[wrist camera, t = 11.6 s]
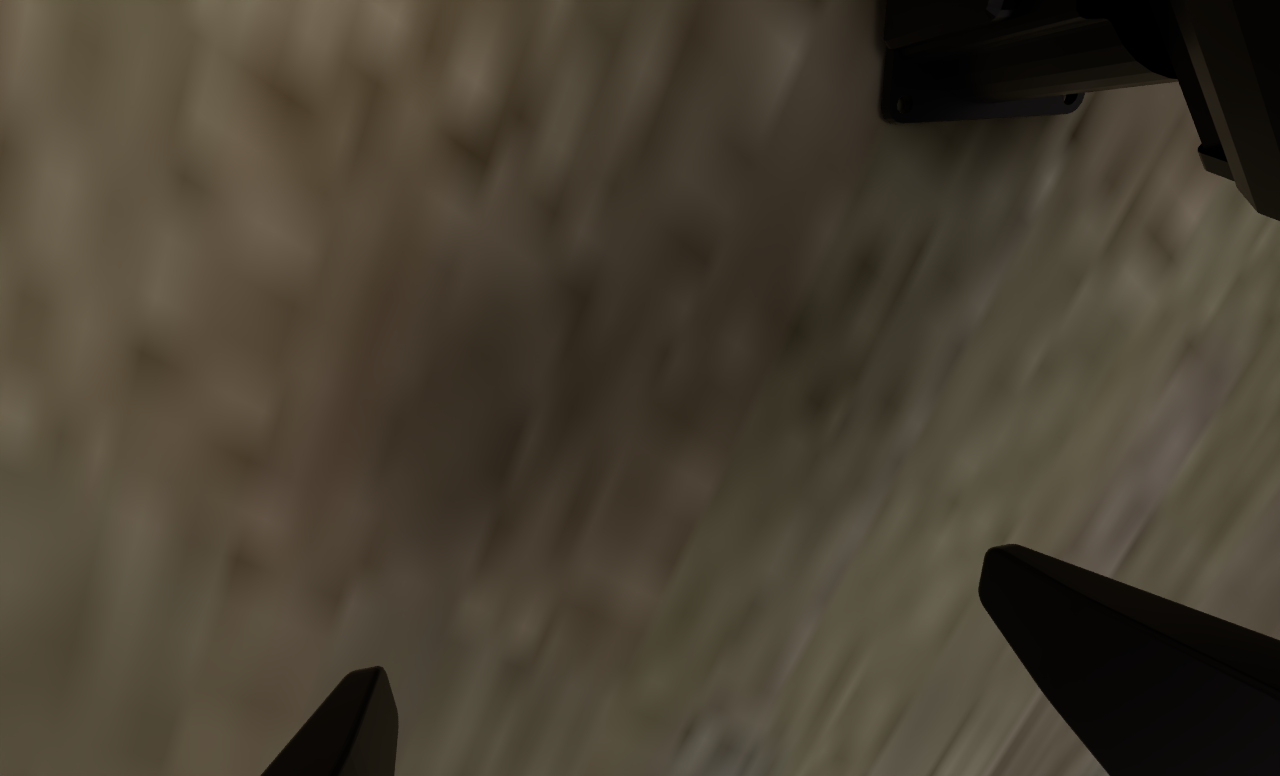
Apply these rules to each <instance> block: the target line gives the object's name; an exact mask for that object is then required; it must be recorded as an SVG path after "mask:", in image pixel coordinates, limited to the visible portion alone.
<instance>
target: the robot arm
mask: <svg viewBox="0 0 1280 776" xmlns="http://www.w3.org/2000/svg"><path fill="white" fill-rule="evenodd" d="M884 41H885V43H886V56H885V68H884V80H883V91H882V103H881V110H882V115H883V117H884V119H885V120H886V121H887V122H889V123H892V124H905V123H922V122H939V121H957V120H974V119H991V118H1008V117H1026V116H1043V115H1059V114H1068V113H1071V112H1073V111H1075V110H1076V109H1077V108H1078V107H1079V105H1080V104H1081V103H1082V100H1083V98H1084V95H1085V92H1093V91H1101V90H1110V89H1118V88H1127V87H1135V86H1144V85H1152V84H1161V83H1170V82H1178V81H1179V84H1180V87H1181V89H1182V92H1183V95H1184V97H1185V100H1186V103H1187V105H1188V108H1189V111H1190V113H1191V116H1192V119H1193V121H1194V124H1195V127H1196V129H1197V132H1198V135H1199V137H1200V140H1201V143H1202V144H1201V145H1200V146H1199V147H1198V153H1199V156H1200V158H1201V161H1202V164H1203V166H1204V169H1205V170H1206V171H1208V172H1211V173H1214V174H1216V175H1219V176H1222V177H1225V178H1227V179H1230V180H1233V181H1235V183H1236V186H1237V188H1238V190H1239V191H1240V192H1241V193H1242V194H1243V196H1244V197H1245V198H1246V199H1247V200H1248V202H1249V203H1250V204H1251V205H1252V206H1253V207H1254V209H1255V210H1256V211H1257V212H1258V213H1260V214H1263V215H1265V216H1268V217H1270V218H1273V219H1276V220H1278V221H1280V0H887V6H886V18H885V30H884ZM1063 95H1066V99H1065V101H1064V102H1063ZM900 97H902V98H903V99H904V102H905V106H904V109H903V111H902V112H901V113H900V112H899V111H898V109H897V103H898V100H899V98H900ZM978 592H979V597H980V600H981V603H982V605H983V606H984V608H985V610H986V611H987V612H988V614H989V615H990V617H991V618H992V620H993V621H994V623H995V624H996V626H997V627H998V629H999V630H1000V631H1001V633H1002V634H1003V636H1004V637H1005V639H1006V640H1007V642H1008V643H1009V645H1010V646H1011V647H1012V649H1013V650H1014V652H1015V653H1016V655H1017V656H1018V658H1019V659H1020V661H1021V662H1022V663H1023V665H1024V666H1025V668H1026V669H1027V671H1028V672H1029V674H1030V675H1031V677H1032V678H1033V679H1034V681H1035V682H1036V684H1037V685H1038V687H1039V688H1040V689H1041V691H1042V692H1043V693H1044V695H1045V696H1046V698H1047V699H1048V700H1049V701H1050V703H1051V704H1052V705H1053V707H1054V708H1055V709H1056V710H1057V712H1058V713H1059V714H1060V715H1061V717H1062V718H1063V719H1064V720H1065V721H1066V723H1067V724H1068V725H1069V726H1070V728H1071V729H1072V730H1073V731H1074V732H1075V734H1076V735H1077V736H1078V737H1079V739H1080V740H1081V741H1082V742H1083V744H1084V745H1085V746H1086V747H1087V748H1088V750H1089V751H1090V752H1091V753H1092V755H1093V756H1094V757H1095V758H1096V759H1097V761H1098V762H1099V763H1100V764H1101V766H1102V767H1103V768H1104V769H1105V770H1106V772H1107V773H1108V774H1109V775H1110V776H1280V640H1277V639H1275V638H1272V637H1269V636H1267V635H1264V634H1261V633H1258V632H1256V631H1253V630H1250V629H1247V628H1245V627H1242V626H1239V625H1236V624H1234V623H1231V622H1228V621H1226V620H1223V619H1220V618H1217V617H1215V616H1212V615H1209V614H1206V613H1204V612H1201V611H1198V610H1196V609H1193V608H1190V607H1187V606H1185V605H1182V604H1179V603H1176V602H1174V601H1171V600H1168V599H1165V598H1163V597H1160V596H1157V595H1155V594H1152V593H1149V592H1146V591H1144V590H1141V589H1138V588H1135V587H1133V586H1130V585H1127V584H1124V583H1122V582H1119V581H1116V580H1114V579H1111V578H1108V577H1105V576H1103V575H1100V574H1097V573H1094V572H1092V571H1089V570H1086V569H1084V568H1081V567H1078V566H1075V565H1073V564H1070V563H1067V562H1064V561H1062V560H1059V559H1056V558H1053V557H1051V556H1048V555H1045V554H1043V553H1040V552H1037V551H1034V550H1032V549H1029V548H1026V547H1023V546H1021V545H1018V544H1007V545H1001V546H996V547H992V548H990V549H988V551H987V552H986V554H985V557H984V562H983V567H982V572H981V577H980V582H979V588H978ZM397 738H398V712H397V707H396V704H395V701H394V697H393V694H392V690H391V687H390V683H389V680H388V677H387V674H386V671H385V670H384V668H383V667H380V666H375V667H370V668H365V669H360V670H355V671H352V672H350V673H349V674H347V675H346V676H345V677H344V678H343V679H342V681H341V682H340V683H339V684H338V685H337V686H336V688H335V689H334V690H333V691H332V692H331V693H330V695H329V696H328V697H327V698H326V699H325V701H324V702H323V703H322V704H321V705H320V706H319V708H318V709H317V710H316V711H315V712H314V713H313V715H312V716H311V717H310V718H309V719H308V720H307V722H306V723H305V724H304V725H303V726H302V727H301V729H300V730H299V731H298V732H297V733H296V735H295V736H294V737H293V738H292V739H291V740H290V742H289V743H288V744H287V745H286V746H285V747H284V749H283V750H282V751H281V752H280V753H279V754H278V756H277V757H276V758H275V759H274V760H273V761H272V763H271V764H270V765H269V766H268V767H267V769H266V770H265V771H264V772H263V773H262V774H261V776H394V771H395V760H396V749H397Z"/></svg>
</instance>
